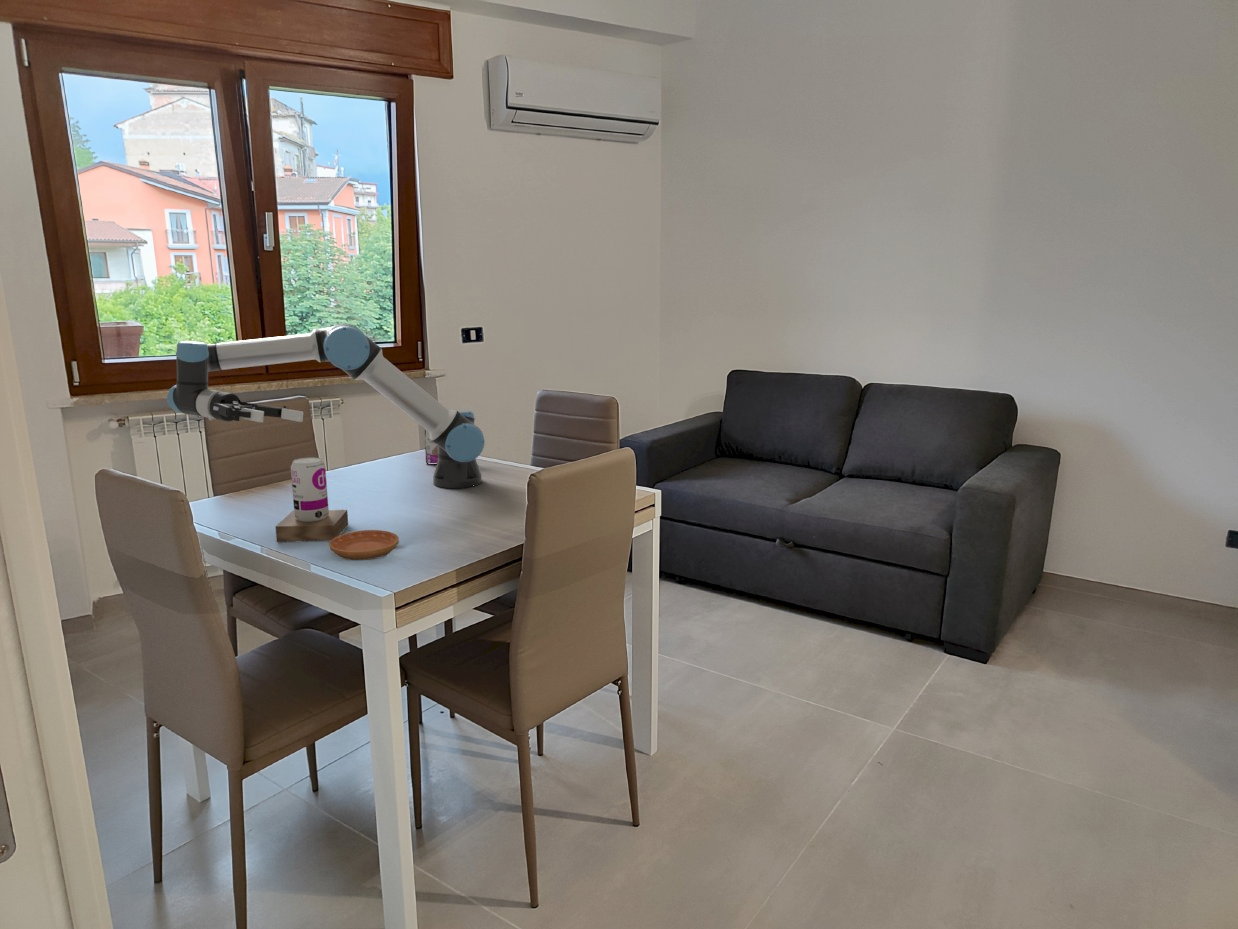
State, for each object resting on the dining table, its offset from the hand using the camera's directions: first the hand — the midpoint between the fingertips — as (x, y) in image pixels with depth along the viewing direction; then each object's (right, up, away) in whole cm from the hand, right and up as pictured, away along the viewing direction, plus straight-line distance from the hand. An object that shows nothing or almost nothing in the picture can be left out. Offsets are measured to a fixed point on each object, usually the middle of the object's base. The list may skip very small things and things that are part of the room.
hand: (282, 416), depth 209 cm
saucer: (+25, -33, -12) cm, 43 cm away
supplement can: (+7, -26, 0) cm, 27 cm away
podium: (+7, -30, +1) cm, 31 cm away
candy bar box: (+24, -12, +80) cm, 84 cm away
